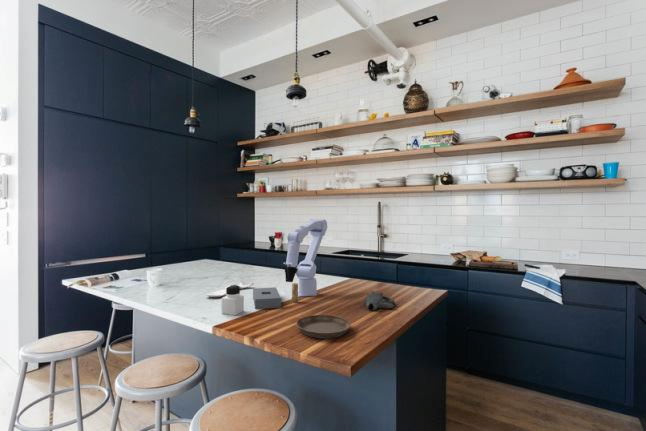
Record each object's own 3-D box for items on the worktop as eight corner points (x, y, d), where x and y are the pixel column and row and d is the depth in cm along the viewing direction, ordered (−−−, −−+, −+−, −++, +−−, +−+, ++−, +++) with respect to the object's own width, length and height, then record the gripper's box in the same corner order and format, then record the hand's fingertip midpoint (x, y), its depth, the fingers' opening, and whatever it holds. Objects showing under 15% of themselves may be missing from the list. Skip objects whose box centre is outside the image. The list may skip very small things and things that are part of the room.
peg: (297, 300, 172) (297, 283, 172) (298, 302, 169) (298, 284, 169) (291, 301, 172) (291, 283, 171) (292, 302, 169) (292, 284, 168)
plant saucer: (346, 322, 142) (346, 314, 141) (353, 341, 121) (353, 332, 121) (297, 322, 141) (297, 314, 141) (295, 341, 120) (295, 332, 120)
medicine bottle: (244, 311, 155) (244, 284, 154) (235, 315, 148) (235, 288, 148) (230, 309, 157) (230, 283, 157) (221, 313, 150) (221, 286, 150)
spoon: (254, 287, 201) (254, 281, 201) (215, 300, 173) (214, 293, 172) (242, 286, 205) (242, 280, 205) (201, 298, 177) (202, 291, 177)
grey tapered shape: (361, 299, 157) (394, 306, 153) (369, 286, 181) (398, 292, 177) (360, 310, 157) (393, 317, 153) (368, 296, 181) (396, 301, 177)
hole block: (275, 295, 182) (275, 287, 182) (280, 307, 161) (281, 297, 161) (252, 296, 179) (252, 288, 179) (255, 309, 158) (255, 299, 158)
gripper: (283, 254, 179) (279, 280, 176) (287, 252, 165) (283, 281, 162) (296, 256, 180) (292, 282, 177) (301, 254, 167) (297, 282, 164)
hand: (289, 281), depth 170 cm, fingers open, 7 cm apart
